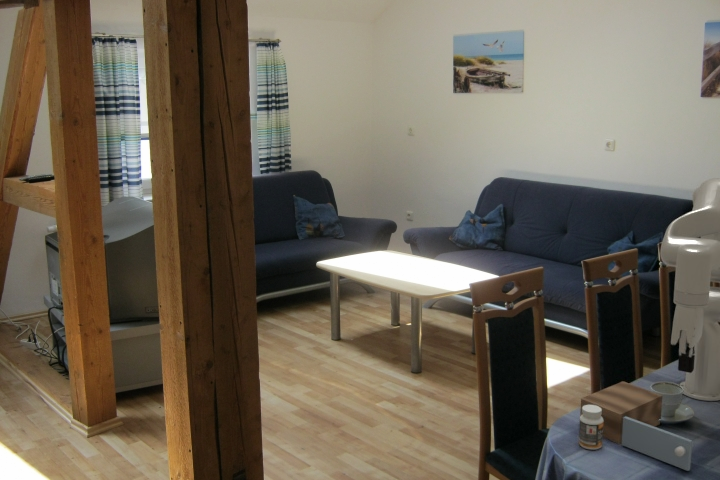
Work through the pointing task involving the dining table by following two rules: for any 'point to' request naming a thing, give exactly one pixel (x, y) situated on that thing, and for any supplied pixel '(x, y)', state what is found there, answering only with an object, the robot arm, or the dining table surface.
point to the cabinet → (624, 407)
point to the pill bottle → (591, 427)
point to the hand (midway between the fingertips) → (685, 370)
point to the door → (657, 443)
